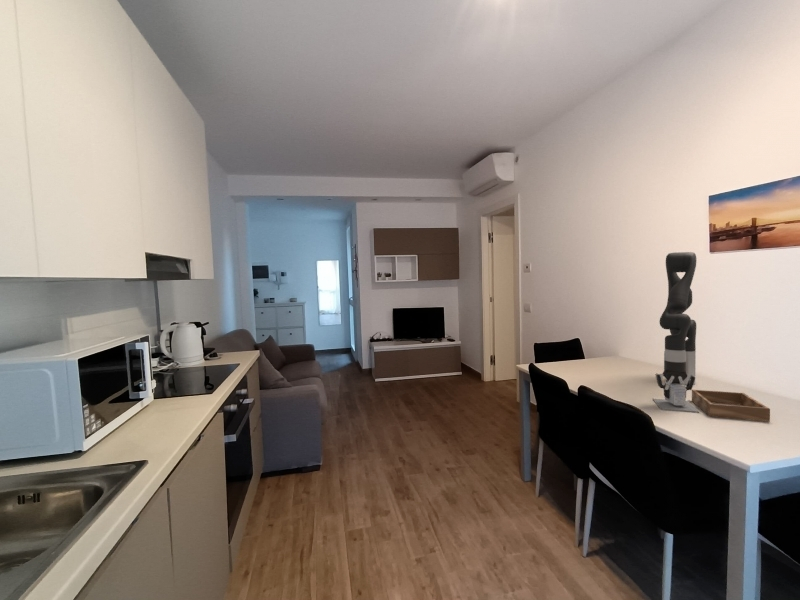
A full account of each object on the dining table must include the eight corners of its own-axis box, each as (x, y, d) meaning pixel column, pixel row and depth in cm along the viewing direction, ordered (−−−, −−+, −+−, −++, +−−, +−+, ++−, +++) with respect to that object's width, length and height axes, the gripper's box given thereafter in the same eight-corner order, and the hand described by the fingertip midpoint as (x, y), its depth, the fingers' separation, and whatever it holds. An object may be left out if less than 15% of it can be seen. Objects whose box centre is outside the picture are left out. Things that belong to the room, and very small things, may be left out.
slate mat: (652, 399, 164) (652, 398, 164) (687, 402, 159) (687, 401, 159) (661, 409, 152) (661, 408, 152) (699, 412, 147) (699, 411, 147)
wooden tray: (691, 400, 162) (691, 389, 161) (743, 404, 155) (743, 392, 154) (710, 416, 143) (710, 404, 143) (769, 421, 136) (770, 408, 136)
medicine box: (685, 406, 151) (686, 385, 151) (673, 405, 152) (674, 385, 152) (675, 399, 159) (675, 380, 159) (664, 399, 160) (664, 380, 160)
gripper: (692, 358, 156) (691, 397, 156) (652, 357, 161) (652, 394, 162) (698, 362, 149) (698, 402, 149) (657, 360, 154) (657, 399, 155)
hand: (674, 398), depth 156 cm, fingers closed on medicine box, 5 cm apart
